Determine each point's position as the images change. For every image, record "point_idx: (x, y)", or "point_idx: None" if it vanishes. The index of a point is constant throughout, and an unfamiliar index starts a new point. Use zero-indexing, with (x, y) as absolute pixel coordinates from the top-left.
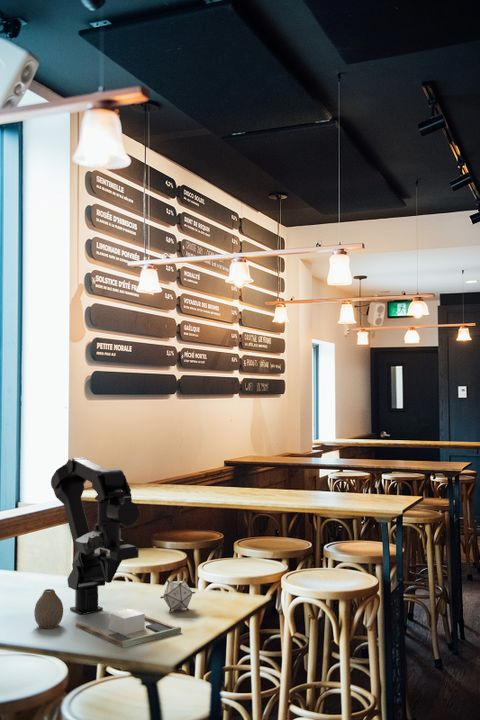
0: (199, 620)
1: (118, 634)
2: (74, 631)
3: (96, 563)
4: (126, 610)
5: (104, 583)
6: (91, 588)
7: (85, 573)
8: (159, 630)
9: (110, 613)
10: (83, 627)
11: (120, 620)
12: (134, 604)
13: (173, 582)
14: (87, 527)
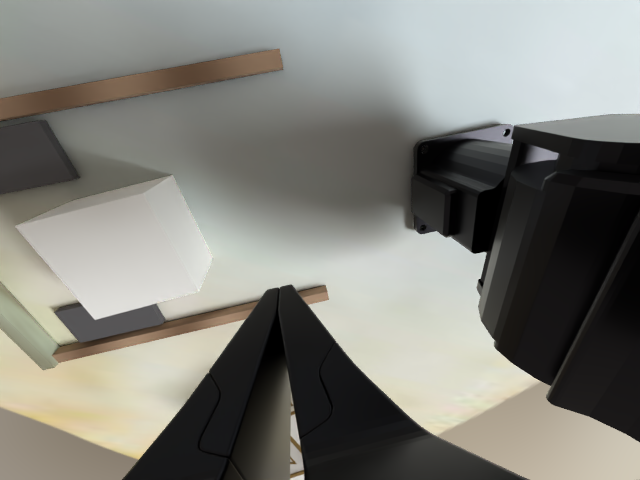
0: (172, 410)
1: (39, 172)
2: (197, 7)
3: (591, 344)
4: (171, 272)
5: (480, 291)
6: (480, 219)
7: (547, 202)
8: (65, 313)
9: (141, 195)
10: (204, 62)
11: (62, 211)
12: (408, 322)
13: (301, 476)
14: None
